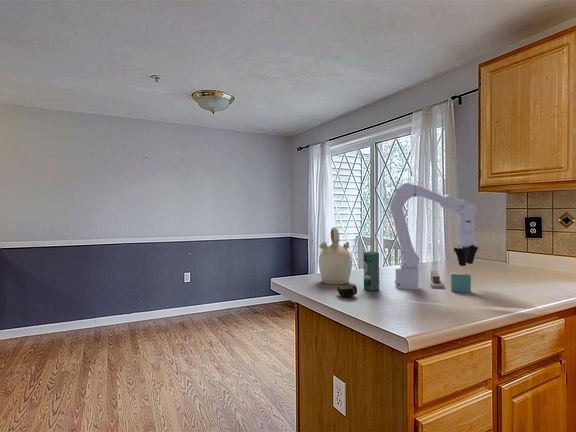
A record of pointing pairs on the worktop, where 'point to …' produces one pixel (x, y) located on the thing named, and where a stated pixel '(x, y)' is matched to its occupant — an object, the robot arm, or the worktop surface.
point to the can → (371, 270)
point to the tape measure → (347, 290)
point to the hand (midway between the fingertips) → (466, 264)
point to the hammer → (436, 280)
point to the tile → (460, 282)
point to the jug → (335, 261)
